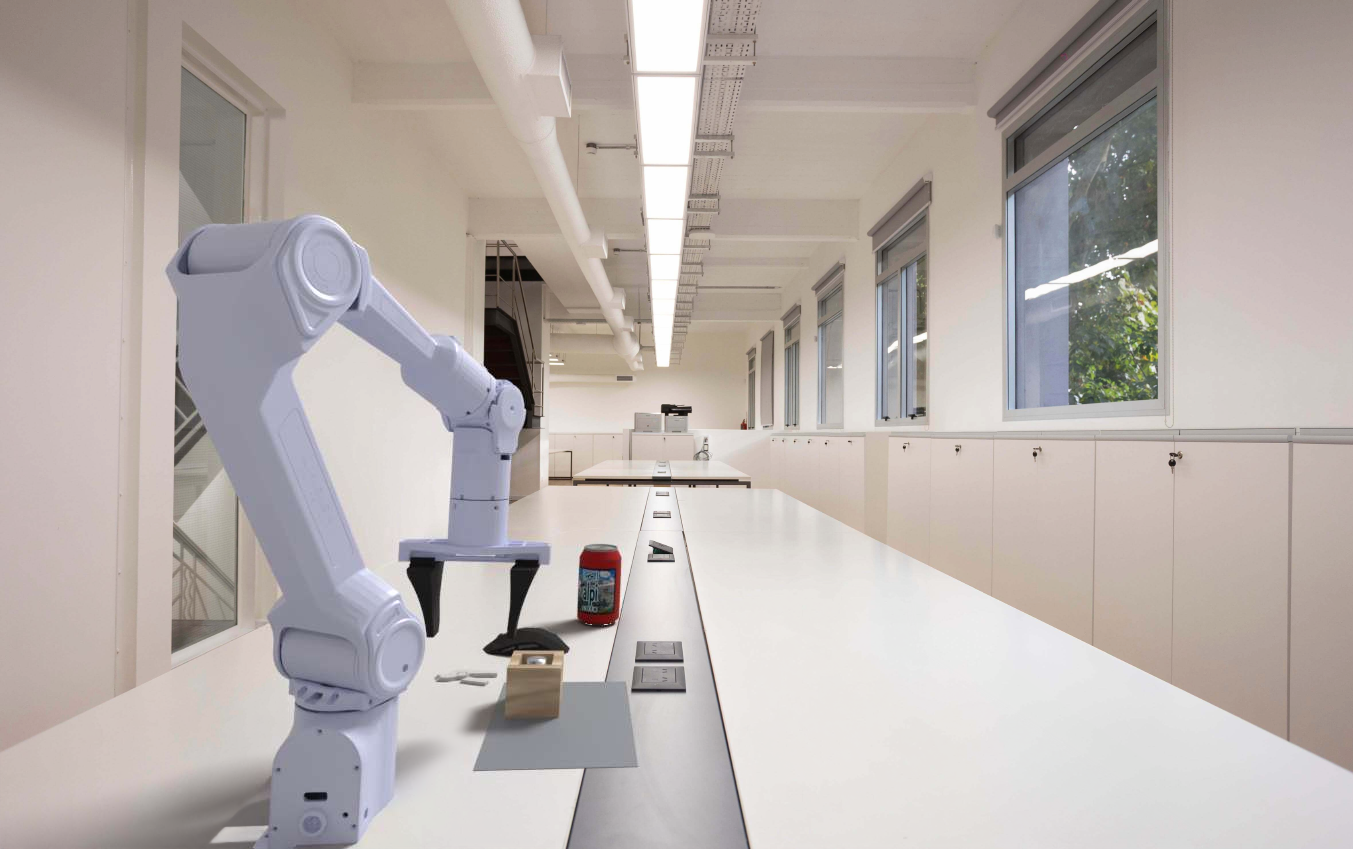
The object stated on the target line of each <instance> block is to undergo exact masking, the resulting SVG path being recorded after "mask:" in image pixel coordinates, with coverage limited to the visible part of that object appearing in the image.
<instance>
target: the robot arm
mask: <svg viewBox="0 0 1353 849" xmlns="http://www.w3.org/2000/svg"><path fill="white" fill-rule="evenodd" d="M370 261H371V260H370V257H369V254H368V251H367V250H366V249H365V248H363V247H362V246H361V245H359V243H357V242H355V241H353V240H352V238H351V237H350V236H349V234H348V233H347V232H346V230H344V228H343V227H342V226H341V225H339V224H338V223H337V222H335V220H332V219H331V218H329V217H326V216H324V215H320V214H317V213H316V214H315V213H313V214H312V213H309V214H307V213H306V214H301V215H300V214H298V215H297V216H295V217H293V218H284V219H275V220H274V219H272V220H264V221H256V222H255V221H253V222H252V221H251V222H242V223H241V222H240V223H234V224H233V223H232V224H227V223H224V222H223V223H208V224H204V225H201V226H199V227H197V228H194V229H193V230H192V231H191V232H189V233H188V234H187V236H186V237H185V239H184V240H183V241H182V243H181V245H179V248H178V249H177V251H176V252H175V253H174V255H173V257H172V258H171V260H170V261H169V262H168V264H167V266H166V267H165V269H164V271H165V274H166V276H167V279H168V280H169V283H170V286H171V288H172V291H173V292H174V294H175V297H176V299H177V301H178V344H177V345H178V349H177V350H178V351H177V360H178V368H179V371H180V375H181V378H182V381H183V382H184V385H185V387H186V389H187V391H188V393H189V395H190V398H191V400H192V402H193V404H194V406H195V409H196V410H197V413H198V414H199V417H200V419H201V421H202V423H203V425H204V428H205V430H206V433H207V434H208V437H209V439H210V441H211V442H212V444H213V447H214V449H215V451H216V454H217V456H218V457H219V460H220V462H221V464H222V466H223V469H224V471H225V472H226V475H227V477H228V479H229V481H230V483H231V486H232V487H233V490H234V492H235V495H236V496H237V499H238V501H239V502H240V505H241V508H242V509H243V512H244V514H245V516H246V518H247V520H248V522H249V525H250V526H251V529H252V531H253V533H254V535H255V537H256V539H257V542H258V544H259V546H260V549H261V550H262V552H263V554H264V556H265V559H266V561H267V562H268V565H269V567H270V570H271V572H272V573H273V575H274V578H275V580H276V582H277V584H278V587H279V589H280V591H281V592H282V595H281V596H280V597H279V598H277V600H276V602H275V603H274V604H273V605H272V607H271V608H270V609H269V611H268V613H267V615H266V618H267V621H268V623H269V625H270V628H271V631H272V635H273V636H272V637H273V645H272V646H273V648H272V657H273V659H272V660H273V662H274V666H275V668H276V670H277V671H278V673H279V675H281V676H282V677H284V678H285V679H287V680H288V681H289V683H288V694H289V695H290V696H293V697H294V712H293V723H292V726H291V729H290V731H289V733H288V735H287V737H286V738H285V739H284V741H283V742H282V744H281V745H280V747H279V748H278V749H277V752H276V753H275V756H274V758H273V762H272V767H271V776H270V778H271V779H270V798H269V812H268V813H269V814H268V815H269V816H268V818H269V820H268V827H267V829H266V830H265V831H264V832H263V833H262V835H261V836H260V837H259V838H258V840H257V841H256V842H255V843H254V845H253V846H252V849H296V847H297V846H308V845H309V846H312V845H313V846H314V845H334V844H335V845H337V844H338V845H339V844H341V845H342V844H358V843H359V842H360V841H361V839H362V838H363V837H364V836H365V833H366V831H367V830H368V828H369V826H370V824H372V822H373V820H374V818H375V817H376V816H377V815H378V814H379V813H380V812H381V811H383V809H385V808H386V807H387V806H388V805H389V804H390V803H391V801H392V800H393V797H394V796H395V784H396V783H395V780H396V762H397V744H398V743H397V741H398V740H397V739H398V721H399V701H400V700H399V699H400V694H403V693H404V692H406V691H407V690H408V686H410V684H411V683H412V681H414V678H415V676H416V675H417V674H418V672H419V670H420V668H421V666H422V663H423V660H424V656H425V652H426V638H429V639H431V638H432V639H433V638H435V636H436V635H437V634H438V633H439V632H440V624H441V623H440V622H441V590H442V582H443V581H442V580H443V574H444V565H445V563H446V562H461V563H462V562H463V563H464V562H466V563H507V564H509V563H510V564H511V563H512V564H514V565H513V566H511V567H510V569H509V578H510V579H509V582H510V583H509V585H510V586H509V591H510V592H509V611H508V619H507V627H506V632H507V638H515V635H516V633H517V629H518V625H519V620H520V616H521V612H522V610H523V607H524V606H523V605H524V603H525V601H526V597H527V594H528V592H529V590H530V587H531V585H532V583H533V581H534V579H535V576H536V575H537V573H538V571H539V569H540V566H549V565H550V564H551V561H552V559H551V557H552V546H553V545H552V542H541V541H540V542H539V541H525V540H513V539H508V528H509V512H510V510H509V507H510V506H509V505H510V488H511V471H512V470H511V469H512V455H513V454H515V453H516V452H517V448H518V445H519V442H518V441H519V436H520V432H521V430H522V429H523V427H524V424H525V421H526V415H527V409H526V408H525V402H524V397H523V394H522V392H521V390H520V388H518V387H517V386H516V385H514V384H513V382H511V381H509V380H507V379H496V378H495V377H494V375H492V374H491V373H489V371H488V369H487V368H486V366H484V365H483V364H480V363H479V362H478V361H477V360H475V358H473V357H472V356H471V355H470V353H468V352H467V351H466V350H465V349H464V348H463V347H462V342H461V340H460V339H458V337H456V336H455V335H447V334H444V333H443V334H442V333H433V334H429V333H428V332H427V331H426V330H425V329H424V328H423V327H422V326H421V325H420V324H419V322H418V321H417V320H415V318H414V317H413V316H412V315H411V314H410V313H409V312H408V311H407V310H406V309H405V307H403V306H402V304H401V303H400V302H399V301H397V299H396V298H395V297H394V296H393V295H392V294H391V293H390V292H389V290H388V289H386V288H385V287H384V286H383V284H381V282H380V281H379V280H378V279H377V278H376V277H375V276H374V275H373V274H372V268H371V262H370ZM336 322H337V323H338V324H340V325H341V326H343V327H344V328H346V329H347V330H348V331H350V332H351V333H353V334H355V335H356V336H357V337H359V338H360V339H362V340H364V341H365V342H366V343H368V344H370V345H371V346H372V347H374V348H376V349H377V350H378V351H380V352H381V353H383V354H384V355H386V356H387V357H389V358H391V359H392V360H393V361H395V362H396V363H398V364H399V365H400V376H401V380H402V382H403V383H404V384H405V386H407V387H408V388H409V389H411V390H412V391H413V392H415V393H416V394H417V395H418V396H420V397H421V398H422V399H424V400H426V402H428V403H429V404H431V405H432V406H433V407H435V408H436V410H437V411H439V413H440V416H441V420H442V424H443V425H444V427H445V429H446V431H448V432H449V433H453V434H452V435H453V437H452V451H451V452H452V455H451V456H452V457H451V470H450V471H451V473H450V489H449V490H450V492H449V505H448V506H449V508H448V510H449V511H448V524H447V538H420V539H419V538H415V539H414V538H405V539H403V540H401V541H399V543H398V556H397V557H398V559H397V561H398V562H402V563H405V562H406V563H407V562H408V563H409V564H408V565H409V566H408V567H407V568H406V575H407V578H408V580H409V583H411V585H412V587H413V590H414V592H415V594H416V596H417V600H418V601H419V602H418V603H419V605H420V608H421V613H422V616H423V620H424V624H423V623H422V621H421V619H420V618H419V617H418V615H416V614H414V613H413V612H411V611H410V610H409V609H408V608H407V606H406V605H405V603H404V601H403V598H402V596H401V593H400V592H399V591H398V590H397V589H396V588H395V587H393V586H391V585H390V584H389V583H387V582H386V581H385V580H384V579H382V578H381V577H379V576H378V575H376V574H375V573H374V572H372V571H371V570H370V569H369V568H367V566H366V564H365V561H364V559H363V556H362V553H361V551H360V548H359V546H358V543H357V540H356V538H355V535H354V533H353V531H352V528H351V526H350V523H349V520H348V518H347V515H346V513H345V510H344V507H343V506H342V502H341V500H340V497H339V495H338V493H337V490H336V487H335V485H334V481H333V479H332V477H331V474H330V471H329V469H328V466H327V464H326V461H325V459H324V457H323V454H322V452H321V449H320V446H319V443H318V441H317V438H316V435H315V434H314V431H313V428H312V426H311V423H310V420H309V418H308V415H307V413H306V410H305V407H304V406H303V403H302V400H301V398H300V395H299V394H300V393H298V389H297V387H296V385H295V382H294V380H293V372H294V370H295V369H296V366H297V365H298V363H299V362H300V359H301V357H302V356H304V355H305V354H306V353H308V352H309V351H310V350H311V348H312V347H313V346H314V345H315V344H316V343H317V342H318V341H319V340H321V339H322V337H323V336H324V335H325V334H326V332H327V331H329V329H331V328H332V326H334V324H336ZM493 555H494V556H493Z"/></svg>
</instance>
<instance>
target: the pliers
mask: <svg viewBox="0 0 1353 849" xmlns="http://www.w3.org/2000/svg"><path fill="white" fill-rule="evenodd" d="M498 675H499V671H497V670H483V669H482V670H481V669H472V668H471V669H470V668H469V669H463V668H462V669H461V668H460V669H458V668H457V669H456V670H453V671H451V672H449V673H445V674H443V673H441V674H439V673H438V674H436V676H435V677H433V679H434V680H435V683H438V682H454V681H458V680H459V681H460V684H469V685H475V686H488V685H489V680H485V679H482V678H497V677H498Z"/></svg>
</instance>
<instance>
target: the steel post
mask: <svg viewBox="0 0 1353 849" xmlns="http://www.w3.org/2000/svg"><path fill="white" fill-rule="evenodd" d="M527 665H546V658H545V657H543V656H532V657H529V658H527Z"/></svg>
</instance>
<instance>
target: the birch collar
mask: <svg viewBox="0 0 1353 849" xmlns="http://www.w3.org/2000/svg"><path fill="white" fill-rule="evenodd" d="M532 656H543V657H545V658H546V665H527V658H529V657H532ZM564 658H565V654H564V651H514V652H513V654H512V656H510V659H509V662H508V664H507V667H506V699H505V718H559V713H560V707H561V700H562V685H563V682H564V680H563V679H564V664H565V663H564V661H565V660H564Z"/></svg>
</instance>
